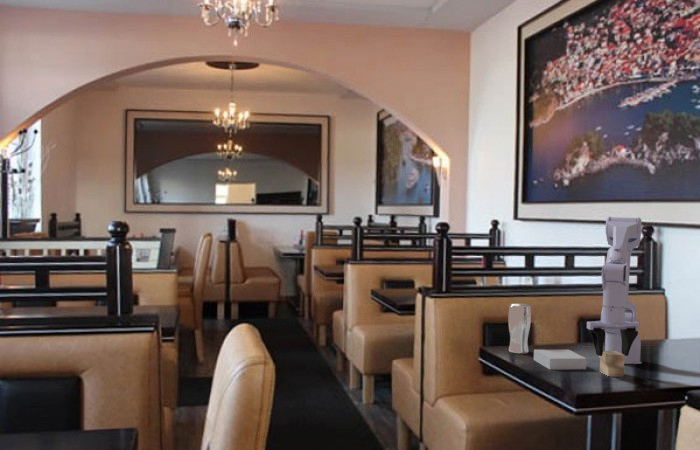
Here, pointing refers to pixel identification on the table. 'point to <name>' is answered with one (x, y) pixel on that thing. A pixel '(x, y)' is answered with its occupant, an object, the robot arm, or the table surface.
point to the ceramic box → (560, 359)
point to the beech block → (612, 363)
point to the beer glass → (519, 327)
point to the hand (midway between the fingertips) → (612, 355)
